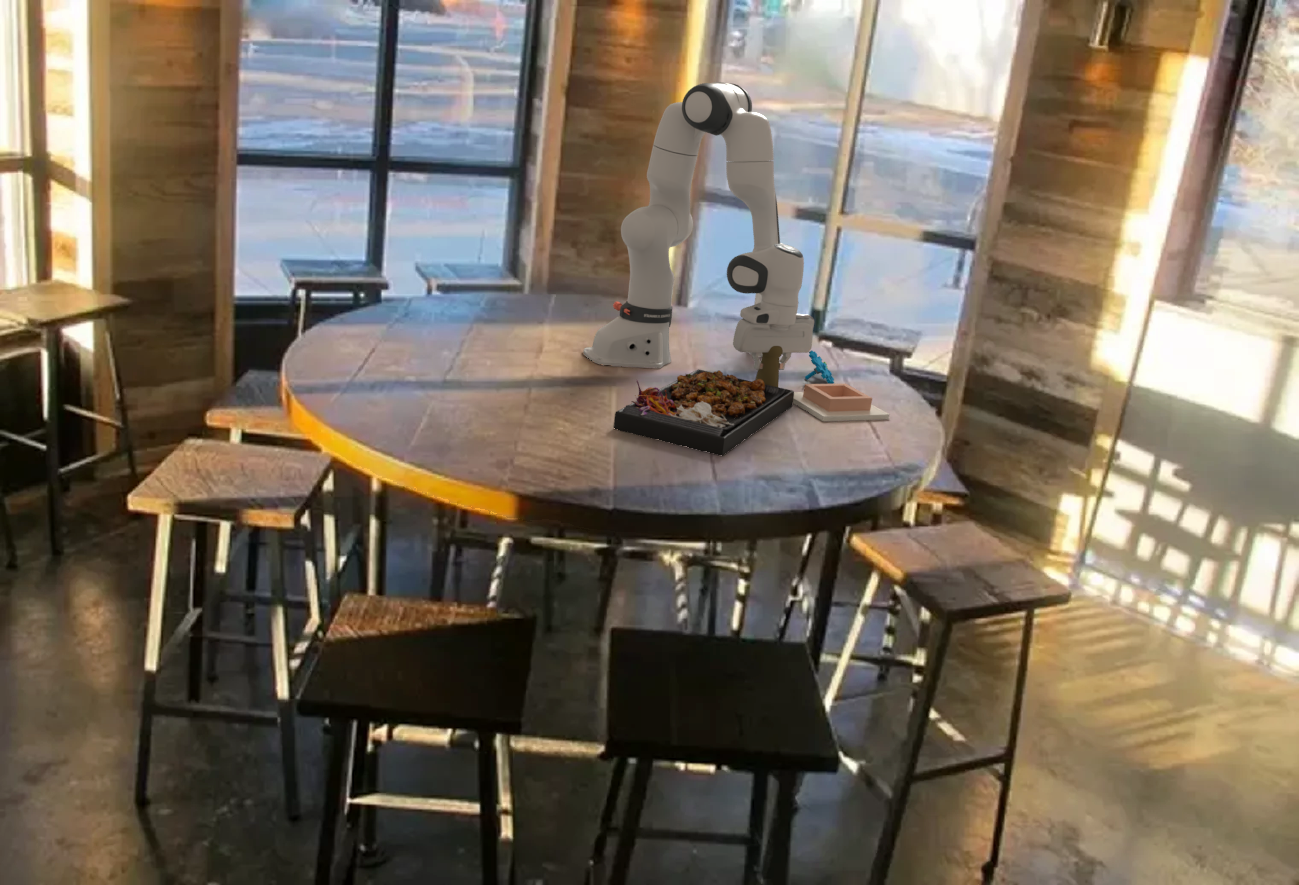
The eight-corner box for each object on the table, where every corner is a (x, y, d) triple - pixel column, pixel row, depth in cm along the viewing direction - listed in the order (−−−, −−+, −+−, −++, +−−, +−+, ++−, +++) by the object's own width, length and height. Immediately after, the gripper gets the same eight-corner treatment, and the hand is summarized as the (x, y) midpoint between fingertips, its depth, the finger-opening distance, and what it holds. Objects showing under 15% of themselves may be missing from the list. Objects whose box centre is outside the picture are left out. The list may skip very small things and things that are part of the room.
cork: (780, 386, 299) (788, 342, 296) (774, 391, 294) (782, 347, 290) (757, 380, 301) (764, 337, 298) (750, 386, 296) (758, 342, 292)
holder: (822, 421, 278) (825, 403, 276) (783, 397, 293) (786, 380, 292) (888, 419, 285) (891, 402, 284) (847, 395, 300) (849, 379, 299)
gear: (832, 383, 304) (809, 350, 305) (813, 396, 306) (790, 363, 307) (840, 379, 314) (818, 347, 315) (821, 392, 316) (799, 360, 317)
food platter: (721, 459, 247) (728, 410, 244) (613, 431, 256) (618, 384, 253) (791, 409, 287) (798, 366, 283) (695, 386, 296) (700, 345, 292)
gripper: (808, 311, 299) (799, 365, 303) (734, 309, 290) (726, 365, 295) (821, 318, 293) (812, 373, 298) (747, 316, 285) (738, 373, 289)
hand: (768, 369), depth 296 cm, fingers closed on cork, 5 cm apart
